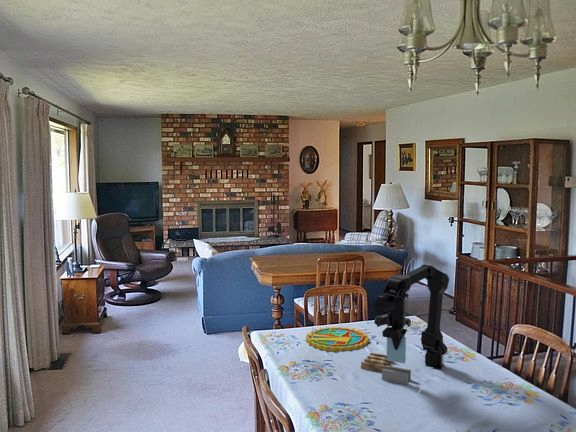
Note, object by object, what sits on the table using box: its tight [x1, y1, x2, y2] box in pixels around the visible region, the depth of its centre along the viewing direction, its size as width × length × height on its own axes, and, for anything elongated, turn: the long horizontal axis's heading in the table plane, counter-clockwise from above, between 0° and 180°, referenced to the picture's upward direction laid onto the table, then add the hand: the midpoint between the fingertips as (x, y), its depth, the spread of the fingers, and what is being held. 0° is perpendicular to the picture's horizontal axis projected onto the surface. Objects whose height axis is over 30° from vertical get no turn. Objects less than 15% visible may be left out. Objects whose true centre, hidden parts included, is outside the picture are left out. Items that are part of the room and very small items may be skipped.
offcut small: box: [371, 359, 384, 365], centre depth 208 cm, size 5×2×4 cm, turn 62°
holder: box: [381, 365, 412, 385], centre depth 198 cm, size 10×5×4 cm, turn 62°
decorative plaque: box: [305, 326, 370, 353], centre depth 244 cm, size 30×3×30 cm
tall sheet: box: [386, 336, 407, 364], centre depth 197 cm, size 7×2×10 cm, turn 62°
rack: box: [359, 352, 396, 373], centre depth 212 cm, size 11×12×3 cm
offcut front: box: [369, 355, 385, 362], centre depth 212 cm, size 6×2×4 cm, turn 62°
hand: (396, 348), depth 197 cm, fingers closed on tall sheet, 1 cm apart
